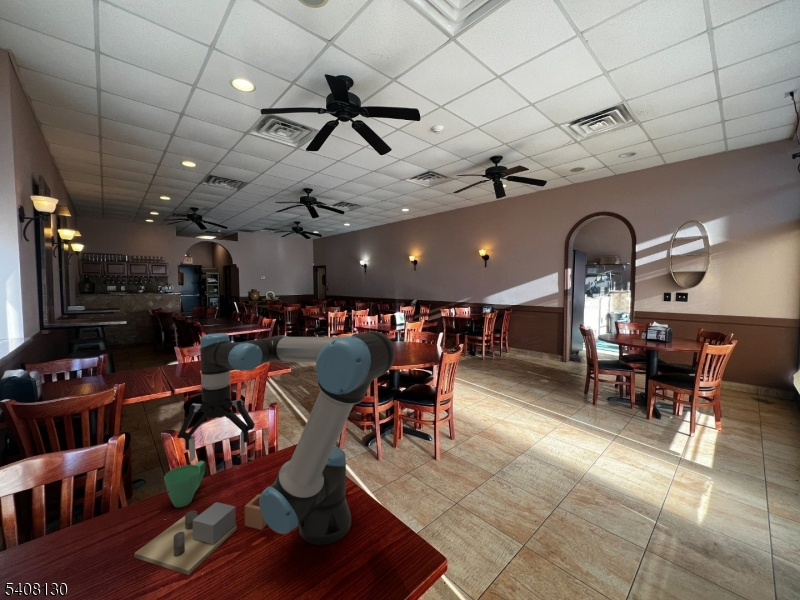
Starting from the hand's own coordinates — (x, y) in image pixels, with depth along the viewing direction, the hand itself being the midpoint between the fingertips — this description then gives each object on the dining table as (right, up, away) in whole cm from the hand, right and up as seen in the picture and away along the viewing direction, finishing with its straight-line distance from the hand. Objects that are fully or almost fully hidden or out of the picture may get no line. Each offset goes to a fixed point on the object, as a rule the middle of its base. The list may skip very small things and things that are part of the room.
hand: (218, 456), depth 99 cm
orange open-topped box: (+12, -21, +2) cm, 24 cm away
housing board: (-4, -21, -7) cm, 22 cm away
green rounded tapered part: (-16, -20, +12) cm, 28 cm away
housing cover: (+2, -19, -5) cm, 20 cm away
